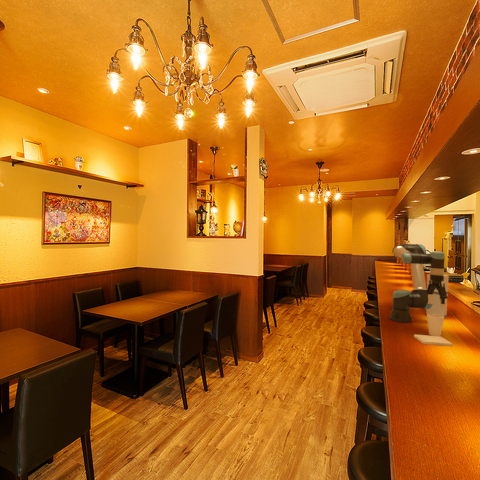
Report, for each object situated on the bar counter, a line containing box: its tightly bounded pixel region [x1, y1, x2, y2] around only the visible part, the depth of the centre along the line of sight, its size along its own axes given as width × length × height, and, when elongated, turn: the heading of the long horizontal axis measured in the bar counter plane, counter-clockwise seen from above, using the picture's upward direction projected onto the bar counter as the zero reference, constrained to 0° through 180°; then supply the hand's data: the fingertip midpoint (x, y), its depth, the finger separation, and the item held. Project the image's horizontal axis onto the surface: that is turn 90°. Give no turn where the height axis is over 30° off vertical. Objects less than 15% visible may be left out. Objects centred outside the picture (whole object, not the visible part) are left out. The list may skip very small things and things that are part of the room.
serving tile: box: [413, 334, 453, 347], centre depth 170 cm, size 12×16×2 cm
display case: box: [425, 273, 449, 319], centre depth 225 cm, size 11×11×35 cm
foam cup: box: [426, 314, 445, 336], centre depth 181 cm, size 10×9×13 cm
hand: (435, 306), depth 181 cm, fingers open, 13 cm apart
